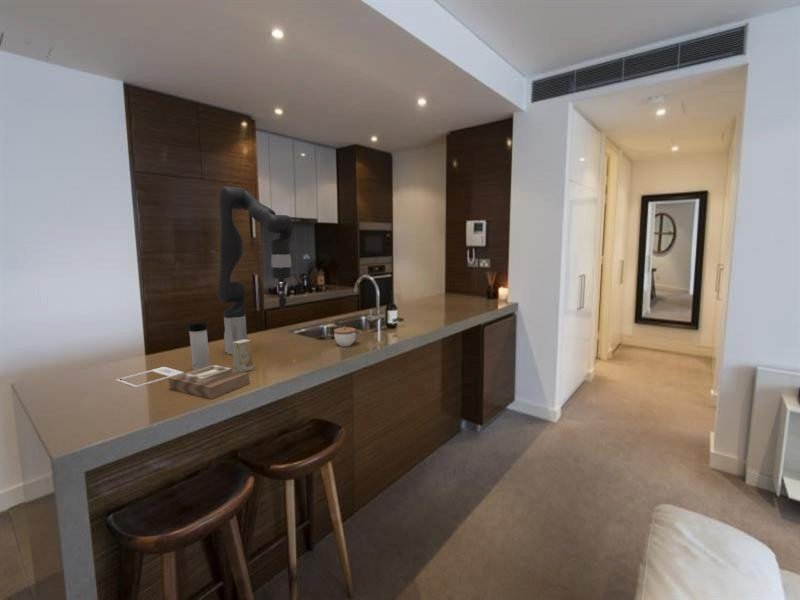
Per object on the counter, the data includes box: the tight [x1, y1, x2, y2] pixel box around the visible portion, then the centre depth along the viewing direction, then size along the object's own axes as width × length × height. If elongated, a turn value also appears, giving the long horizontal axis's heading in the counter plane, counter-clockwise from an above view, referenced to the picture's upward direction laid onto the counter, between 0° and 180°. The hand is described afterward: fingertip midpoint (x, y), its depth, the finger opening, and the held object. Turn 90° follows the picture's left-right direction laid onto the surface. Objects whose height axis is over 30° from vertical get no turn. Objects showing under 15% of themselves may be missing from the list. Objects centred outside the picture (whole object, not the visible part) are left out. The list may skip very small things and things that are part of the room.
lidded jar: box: [333, 325, 357, 347], centre depth 199 cm, size 11×11×9 cm
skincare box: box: [232, 339, 254, 372], centre depth 162 cm, size 6×4×12 cm
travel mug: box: [188, 322, 211, 370], centre depth 162 cm, size 6×7×20 cm
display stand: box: [167, 364, 250, 400], centre depth 145 cm, size 22×16×6 cm
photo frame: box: [115, 366, 185, 389], centre depth 156 cm, size 15×1×18 cm
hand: (283, 305), depth 163 cm, fingers open, 8 cm apart
